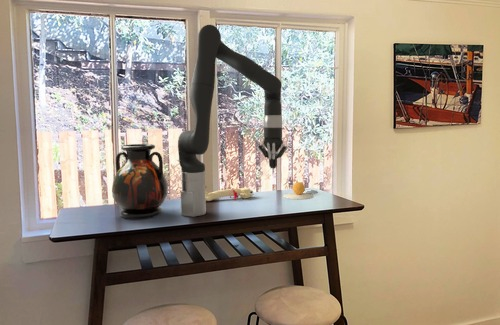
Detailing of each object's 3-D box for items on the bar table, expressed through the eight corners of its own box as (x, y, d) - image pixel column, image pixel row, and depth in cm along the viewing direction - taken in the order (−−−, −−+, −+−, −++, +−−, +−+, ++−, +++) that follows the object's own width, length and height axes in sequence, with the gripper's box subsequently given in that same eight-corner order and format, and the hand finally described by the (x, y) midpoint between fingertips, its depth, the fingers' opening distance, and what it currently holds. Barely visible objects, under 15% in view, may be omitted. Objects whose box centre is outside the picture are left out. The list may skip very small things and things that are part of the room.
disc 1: (306, 200, 195) (306, 200, 195) (278, 197, 201) (278, 197, 201) (317, 194, 207) (317, 194, 207) (290, 192, 214) (290, 192, 214)
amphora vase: (103, 221, 162) (99, 147, 159) (127, 208, 183) (123, 143, 180) (158, 222, 159) (155, 147, 156) (175, 209, 181) (173, 142, 177)
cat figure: (204, 207, 191) (257, 198, 198) (202, 187, 189) (255, 179, 197) (199, 202, 200) (249, 194, 208) (197, 184, 199) (248, 176, 206)
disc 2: (313, 194, 208) (313, 194, 208) (294, 192, 213) (294, 192, 213) (320, 191, 216) (320, 190, 216) (301, 189, 221) (301, 189, 221)
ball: (306, 195, 210) (302, 194, 204) (294, 194, 212) (290, 193, 207) (307, 182, 210) (303, 182, 204) (295, 182, 212) (291, 181, 207)
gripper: (254, 126, 176) (254, 168, 179) (283, 126, 170) (283, 170, 172) (262, 125, 183) (263, 166, 185) (291, 126, 177) (291, 167, 179)
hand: (273, 168), depth 179 cm, fingers closed
